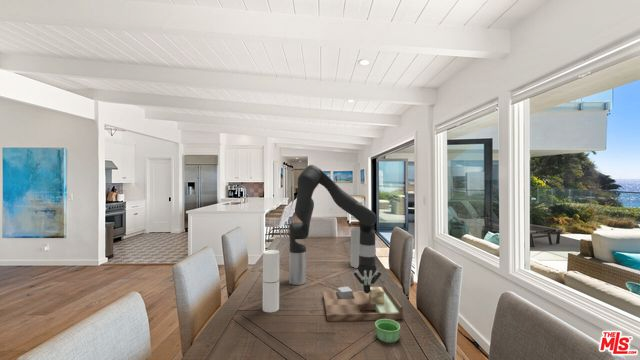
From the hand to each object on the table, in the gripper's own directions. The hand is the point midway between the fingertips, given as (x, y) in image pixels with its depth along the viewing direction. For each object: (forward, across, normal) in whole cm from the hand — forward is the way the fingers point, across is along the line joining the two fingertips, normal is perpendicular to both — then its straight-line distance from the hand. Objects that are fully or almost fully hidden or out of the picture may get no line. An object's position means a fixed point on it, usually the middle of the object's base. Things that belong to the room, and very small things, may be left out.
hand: (366, 292), depth 124 cm
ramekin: (+7, +2, -24) cm, 25 cm away
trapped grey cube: (+7, -9, +7) cm, 13 cm away
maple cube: (+4, +4, 0) cm, 6 cm away
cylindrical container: (+7, -43, 0) cm, 43 cm away
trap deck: (+6, -4, 0) cm, 7 cm away
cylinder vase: (+6, +9, +60) cm, 61 cm away
